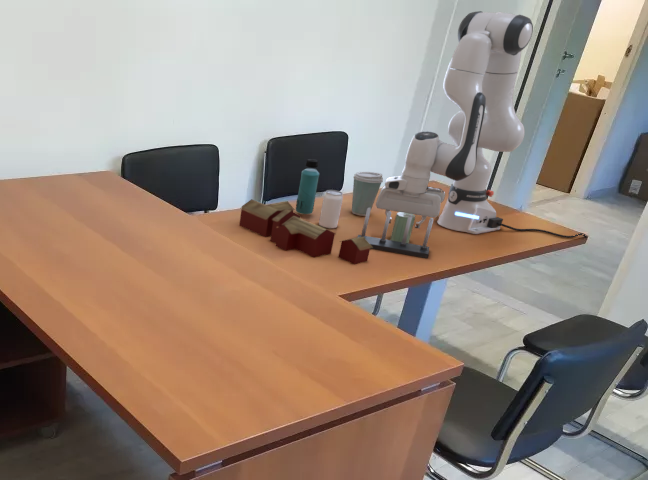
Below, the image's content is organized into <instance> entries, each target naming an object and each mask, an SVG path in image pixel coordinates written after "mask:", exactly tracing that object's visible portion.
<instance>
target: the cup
mask: <svg viewBox="0 0 648 480" xmlns="http://www.w3.org/2000/svg"><path fill="white" fill-rule="evenodd" d="M409 215H412V220H411V224H410V228H409V231H408V235H407V239H406V243H410V240H411V236H412V232H413V230H414V229H413V228H414V225H415V221H416V215H415V214H409V213H403V212H396V214H395V217H394V222H393V227H392V230H391V235H390V239H389V240H392V241H398V242H402V239H403V235H404V231H405V228H406V224H407V220H408V216H409Z"/></svg>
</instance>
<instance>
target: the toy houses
mask: <svg viewBox="0 0 648 480" xmlns="http://www.w3.org/2000/svg"><path fill="white" fill-rule="evenodd" d="M239 209H241V210H240V217H239V226H240V227H243V228H244V229H247V230H249V231H251V232H253V233H255V234H257V235H260V236H262V237H264V238H270V240H269V241H270V242H272V243H275V245H274V246H275V247H277V248H279V249H281V250H283V251H286V252H287V251H291V250H297V251H299V252H301V253H303V254H306V255H308V256H310V257H312V258H317V257H322V256H326V255H331V254H332V251H333V245H334V240H335V236H336V233H335V232H333V231H331V230H330V229H328V228H323V227H321V226H320V225H318V224H316V223H313V222H310V221H308V220H305V219H303V218H302V216H301V215H299V213H297V212H296V213H295V212H294V211H296V208H295V207H294V206H292V204H291V203H290V202H289V201H287V200H285V201H280V202H275V203H269V204H264V203H261V202H259V201H257V200H254V199H250V200H248V201H247V202H246V203H244V204H243V205H242V206H241V207H240V208H239ZM357 237H358V236H357ZM357 237H352V238H347V239H343V240H339V242H340V248H339V252H338V258H339V259H341V260H344V261H346V262H348V263H350V264H352V265H357V264H361V263H365V262H368V260H369V255H370V251H371V248H370V247H372V246H371V245H370V244H369V243H368V241H367V240H366V239H365V238H364V237H358V238H357ZM369 245H370V246H369ZM372 248H373V247H372Z"/></svg>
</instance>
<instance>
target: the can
mask: <svg viewBox="0 0 648 480" xmlns="http://www.w3.org/2000/svg"><path fill="white" fill-rule="evenodd" d="M343 200H344V195H343V192H342V191H340V190H336V189H327V190H325V194H323V199H322V204H321V209H320V214H319V219H318V226H320V227H322V228H325V229H327V230H331V229H336V228H337V227H338V225H339V219H340V215H341V210H342V205H343Z"/></svg>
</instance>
